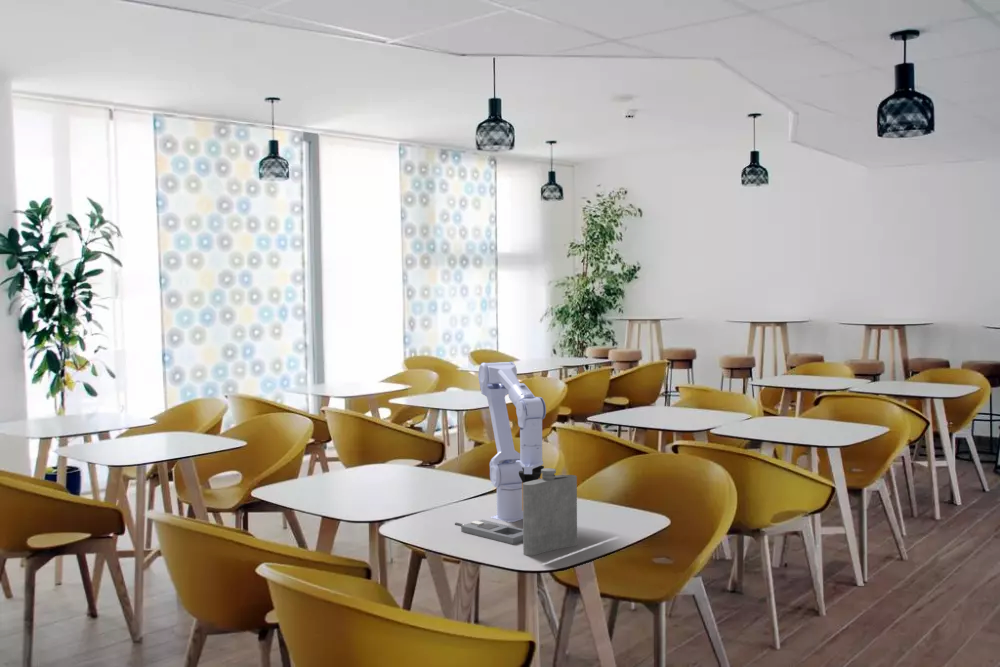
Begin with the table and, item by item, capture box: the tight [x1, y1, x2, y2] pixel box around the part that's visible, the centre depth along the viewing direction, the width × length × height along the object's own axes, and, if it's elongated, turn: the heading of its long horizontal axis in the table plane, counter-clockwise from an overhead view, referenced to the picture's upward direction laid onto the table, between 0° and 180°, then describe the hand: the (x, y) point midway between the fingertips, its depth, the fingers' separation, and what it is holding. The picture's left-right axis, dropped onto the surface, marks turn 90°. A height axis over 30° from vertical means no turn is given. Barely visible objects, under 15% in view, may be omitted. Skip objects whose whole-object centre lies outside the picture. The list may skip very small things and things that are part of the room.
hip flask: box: [522, 467, 578, 557], centre depth 217 cm, size 16×4×20 cm, turn 126°
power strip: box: [454, 519, 523, 545], centre depth 232 cm, size 8×24×2 cm, turn 47°
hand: (531, 496), depth 232 cm, fingers closed on plug, 4 cm apart
